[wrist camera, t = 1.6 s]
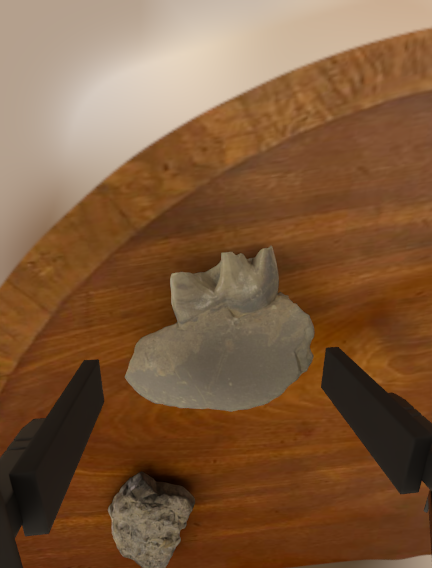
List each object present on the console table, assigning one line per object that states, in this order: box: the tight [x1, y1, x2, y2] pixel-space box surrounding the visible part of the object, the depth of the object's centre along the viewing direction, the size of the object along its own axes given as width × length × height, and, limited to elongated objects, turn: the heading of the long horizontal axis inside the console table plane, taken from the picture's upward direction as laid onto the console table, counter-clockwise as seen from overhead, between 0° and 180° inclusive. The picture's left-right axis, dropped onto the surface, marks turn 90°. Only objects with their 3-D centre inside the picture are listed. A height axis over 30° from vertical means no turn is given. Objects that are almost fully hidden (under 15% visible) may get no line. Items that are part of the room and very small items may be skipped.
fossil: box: [125, 246, 314, 411], centre depth 20 cm, size 14×10×10 cm
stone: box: [108, 471, 195, 568], centre depth 28 cm, size 14×8×3 cm, turn 162°
